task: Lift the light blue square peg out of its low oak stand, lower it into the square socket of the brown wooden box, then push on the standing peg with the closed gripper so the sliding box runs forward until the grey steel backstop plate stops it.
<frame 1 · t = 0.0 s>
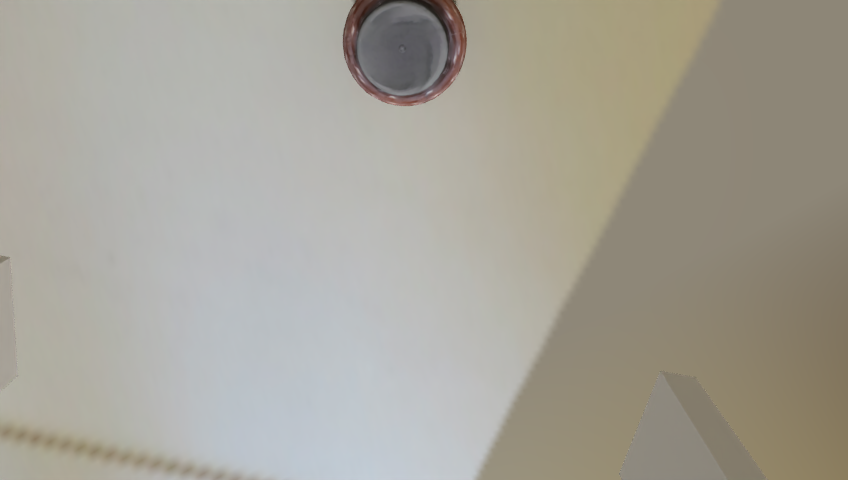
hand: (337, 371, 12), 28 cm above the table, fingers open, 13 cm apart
supplement bottle: (409, 32, 37), on the table
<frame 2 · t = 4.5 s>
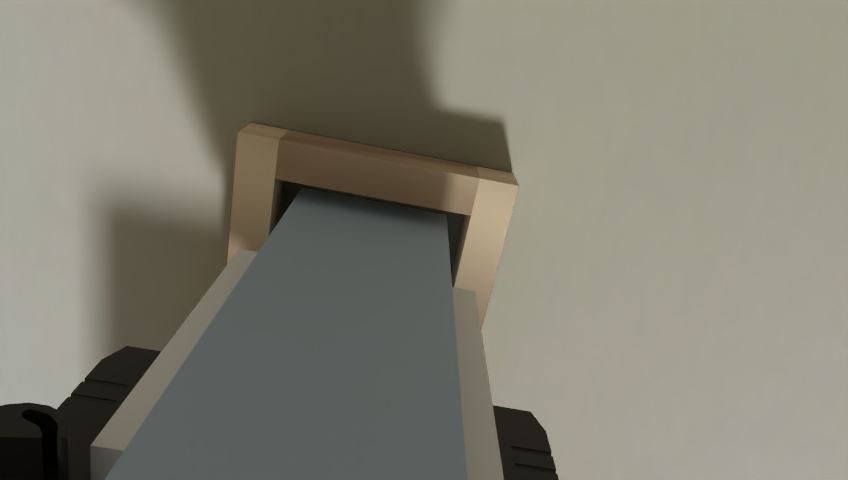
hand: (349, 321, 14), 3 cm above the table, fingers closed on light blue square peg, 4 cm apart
stand: (363, 266, 17), on the table
light blue square peg: (363, 266, 17), resting in stand, touching gripper
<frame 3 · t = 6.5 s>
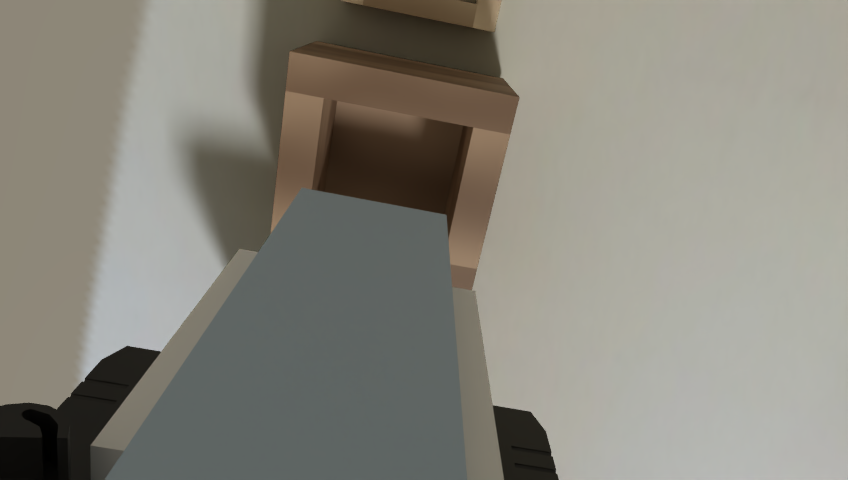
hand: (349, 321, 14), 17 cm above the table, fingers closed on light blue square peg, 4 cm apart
brown wooden box: (390, 166, 28), point 3 cm above the table, slide at 0.0 cm
light blue square peg: (363, 266, 17), point 14 cm above the table, touching gripper
when the fingers open (7 cm above the table, at t = 8.5 s): light blue square peg drops 2 cm, resting on brown wooden box.
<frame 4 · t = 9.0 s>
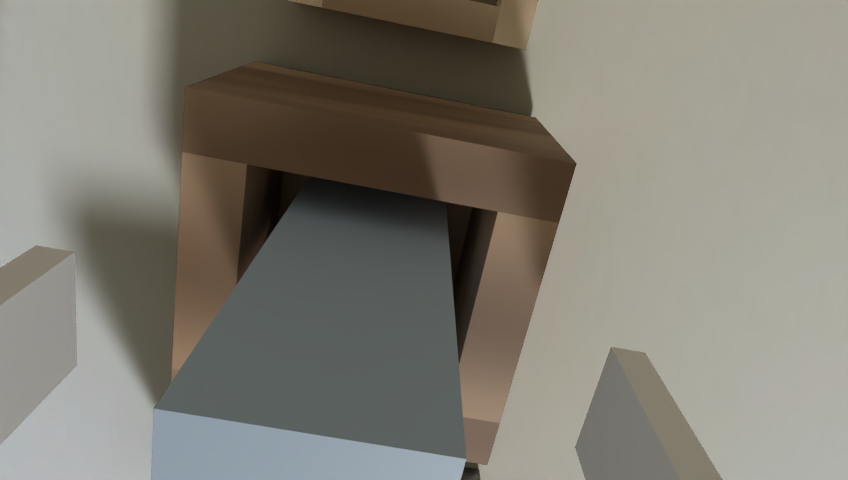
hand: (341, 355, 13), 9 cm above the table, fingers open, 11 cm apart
brown wooden box: (366, 254, 18), point 3 cm above the table, slide at 0.0 cm, touching light blue square peg
light blue square peg: (371, 235, 20), point 1 cm above the table, touching brown wooden box
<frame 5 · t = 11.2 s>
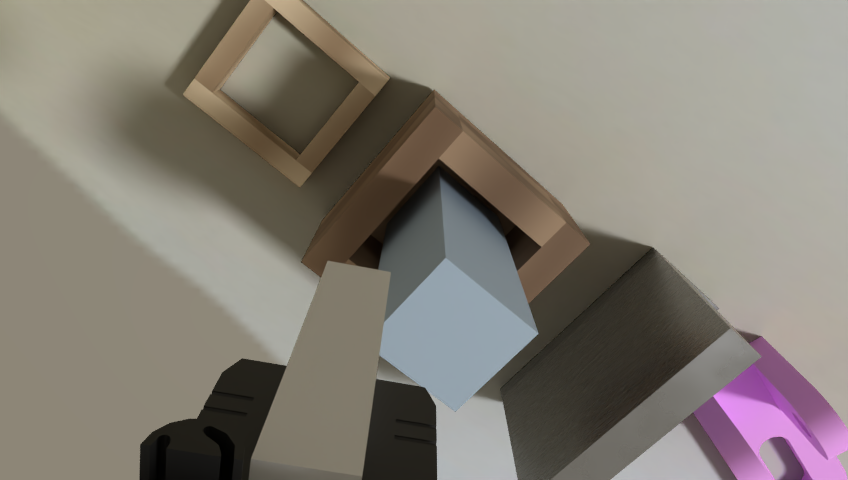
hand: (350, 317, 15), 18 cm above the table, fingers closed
stand: (290, 84, 30), on the table
bracket: (761, 432, 38), on the table
backstop: (585, 331, 35), on the table
brown wooden box: (443, 230, 29), point 3 cm above the table, slide at 0.0 cm, touching light blue square peg
light blue square peg: (442, 220, 31), point 1 cm above the table, touching brown wooden box
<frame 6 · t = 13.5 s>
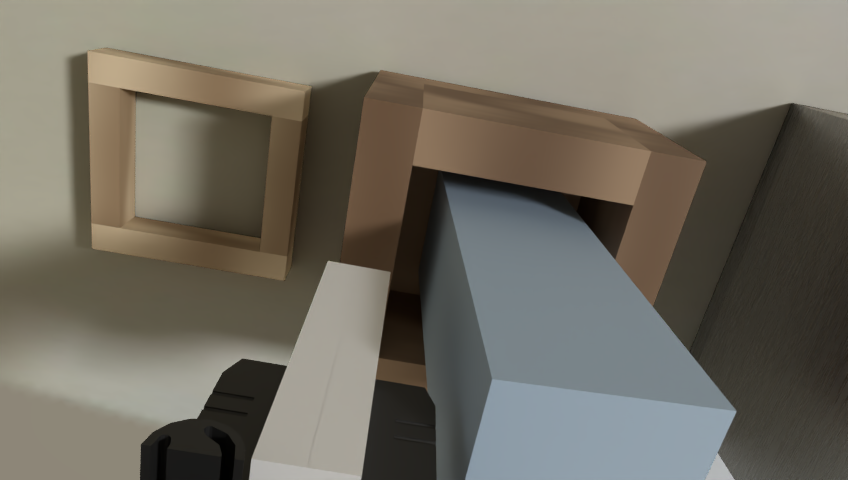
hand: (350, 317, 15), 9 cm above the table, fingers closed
stand: (204, 165, 22), on the table
backstop: (753, 262, 23), on the table
brown wooden box: (488, 246, 20), point 3 cm above the table, slide at 0.3 cm, touching light blue square peg
light blue square peg: (484, 229, 21), point 2 cm above the table, touching brown wooden box
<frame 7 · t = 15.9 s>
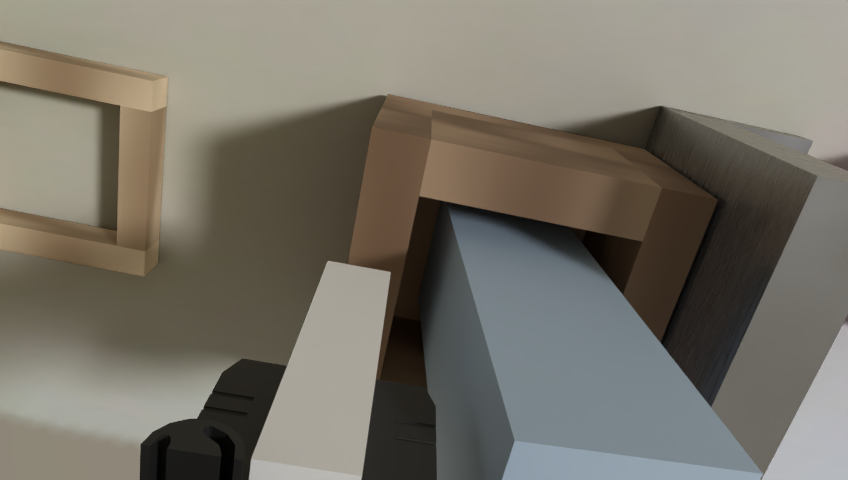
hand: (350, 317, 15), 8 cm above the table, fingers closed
stand: (63, 155, 21), on the table
backstop: (631, 269, 23), on the table
brown wooden box: (493, 275, 20), point 3 cm above the table, slide at 5.4 cm, touching light blue square peg
light blue square peg: (486, 256, 21), point 2 cm above the table, touching brown wooden box
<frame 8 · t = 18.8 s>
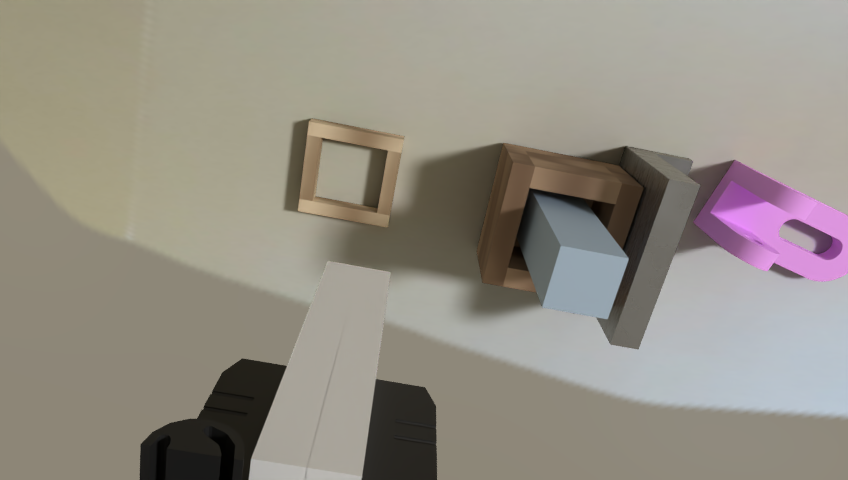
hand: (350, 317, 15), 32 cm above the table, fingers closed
stand: (351, 171, 47), on the table
bracket: (780, 223, 48), on the table
backstop: (614, 221, 48), on the table
brown wooden box: (552, 222, 45), point 3 cm above the table, slide at 5.4 cm, touching light blue square peg
light blue square peg: (547, 214, 46), point 1 cm above the table, touching brown wooden box
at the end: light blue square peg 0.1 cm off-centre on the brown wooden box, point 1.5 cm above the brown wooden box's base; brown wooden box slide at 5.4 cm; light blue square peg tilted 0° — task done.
